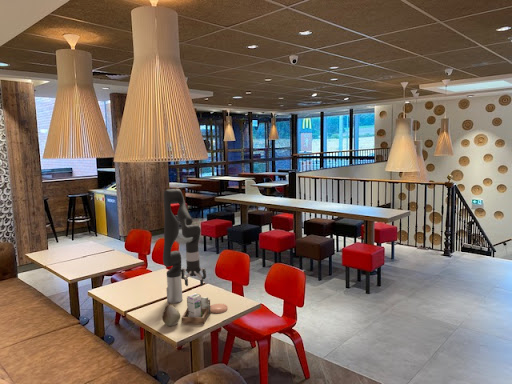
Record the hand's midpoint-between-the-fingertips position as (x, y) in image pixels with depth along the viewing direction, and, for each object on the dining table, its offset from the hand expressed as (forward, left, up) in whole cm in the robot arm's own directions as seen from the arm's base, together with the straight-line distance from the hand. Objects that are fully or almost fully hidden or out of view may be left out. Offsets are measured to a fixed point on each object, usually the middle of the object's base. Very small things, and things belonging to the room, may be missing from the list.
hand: (194, 285), depth 223 cm
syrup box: (0, 0, -20) cm, 20 cm away
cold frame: (0, 0, -20) cm, 20 cm away
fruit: (-12, -7, -20) cm, 25 cm away
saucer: (+11, +13, -20) cm, 26 cm away
